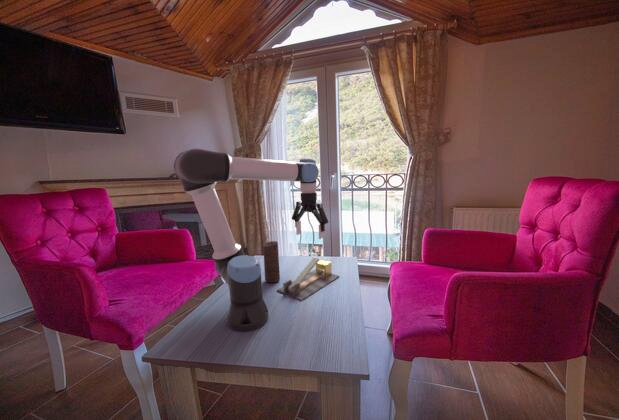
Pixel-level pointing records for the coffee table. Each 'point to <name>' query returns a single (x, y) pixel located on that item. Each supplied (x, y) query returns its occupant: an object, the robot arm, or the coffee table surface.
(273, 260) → the brown wooden block
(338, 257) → the coffee table surface
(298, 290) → the tongs base
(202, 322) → the coffee table surface
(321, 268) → the collar
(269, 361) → the coffee table surface
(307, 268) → the bar
